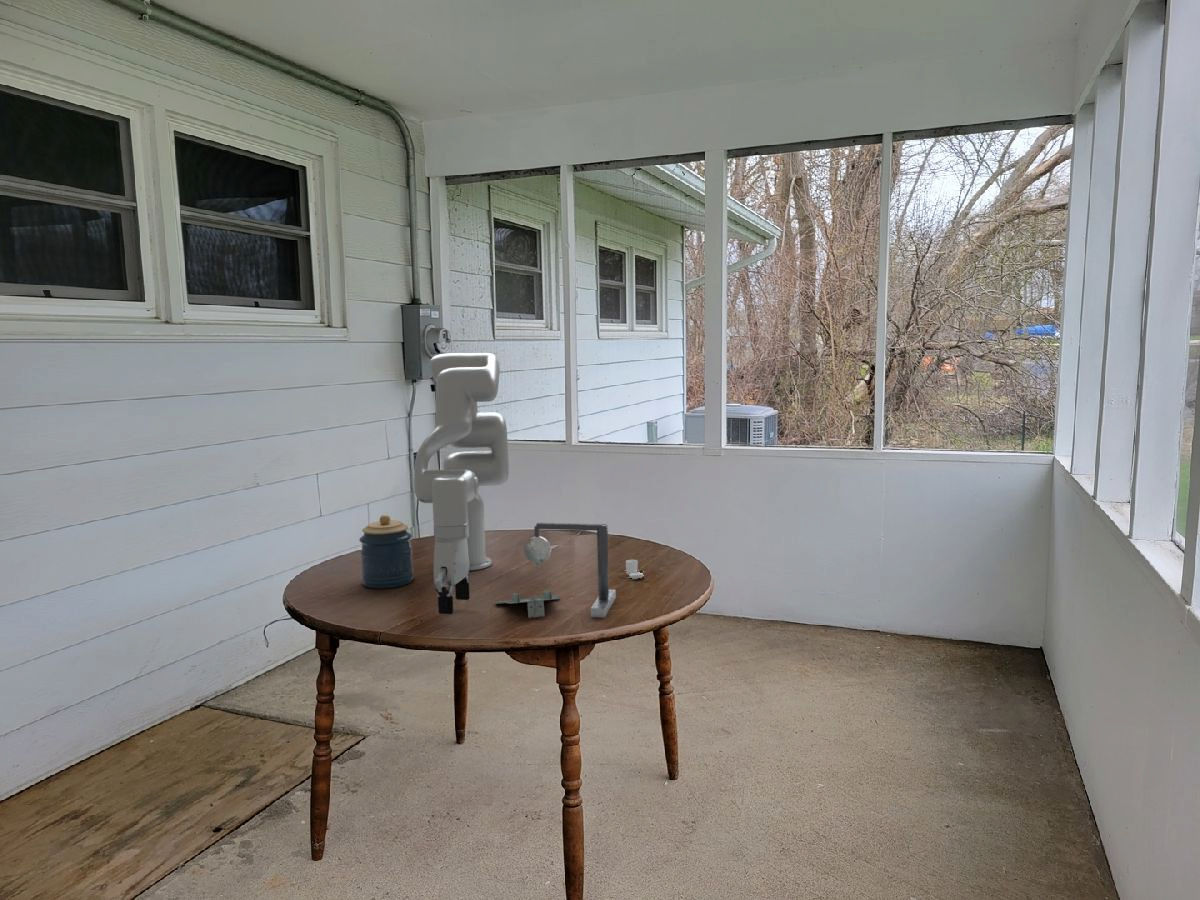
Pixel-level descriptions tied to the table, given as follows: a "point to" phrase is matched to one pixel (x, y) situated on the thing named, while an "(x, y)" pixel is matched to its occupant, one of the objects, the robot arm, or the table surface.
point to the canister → (386, 554)
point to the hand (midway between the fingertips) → (454, 606)
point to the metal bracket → (533, 603)
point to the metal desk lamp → (540, 550)
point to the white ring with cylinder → (633, 569)
